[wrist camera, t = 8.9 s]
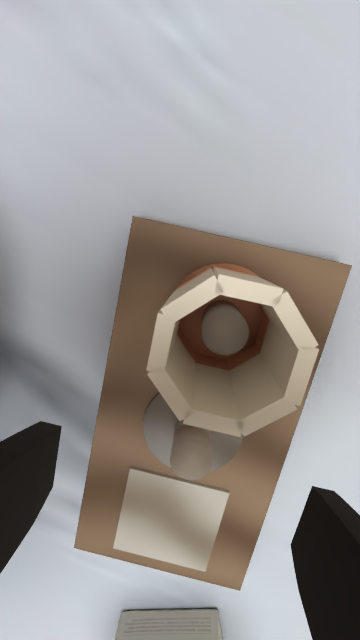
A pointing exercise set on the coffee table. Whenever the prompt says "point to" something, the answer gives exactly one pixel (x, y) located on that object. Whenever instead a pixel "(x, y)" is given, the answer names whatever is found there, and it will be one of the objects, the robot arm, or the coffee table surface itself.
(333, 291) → the pin board
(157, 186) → the coffee table surface
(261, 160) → the coffee table surface
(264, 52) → the coffee table surface
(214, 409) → the sleeve
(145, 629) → the supplement box
